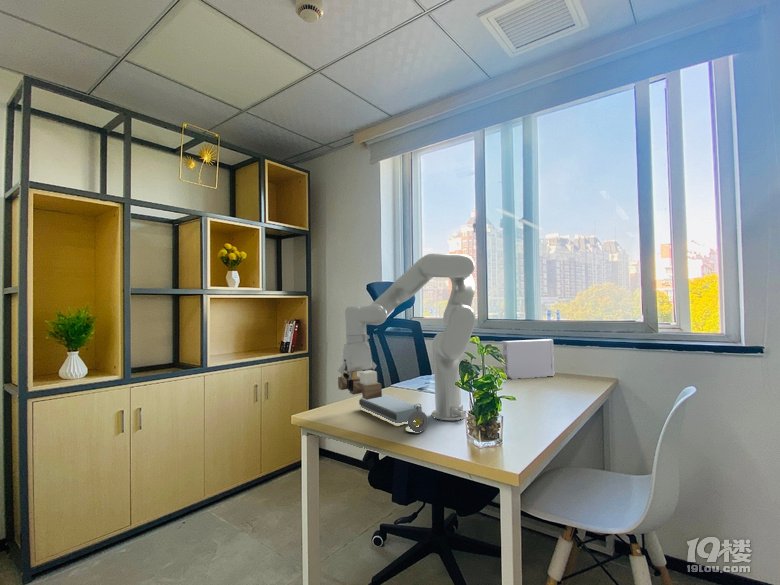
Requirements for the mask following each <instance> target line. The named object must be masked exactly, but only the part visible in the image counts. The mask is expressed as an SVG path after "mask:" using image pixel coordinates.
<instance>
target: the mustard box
mask: <svg viewBox="0 0 780 585" xmlns="http://www.w3.org/2000/svg"><path fill="white" fill-rule="evenodd" d="M344 372H345V373H347V371H345V370H344ZM357 372H358V371H356V372H353V376H352V378H355V377H357V376H358V373H357ZM340 375H341V374H340ZM340 377H342V378H345V377H343V376H342V375H341V376H340Z"/></svg>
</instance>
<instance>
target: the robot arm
mask: <svg viewBox="0 0 780 585" xmlns="http://www.w3.org/2000/svg"><path fill="white" fill-rule="evenodd" d="M475 265H476V264H475V262H474V259H473V258H472V257H471V256H470V255H468V254H464V253H428V254H426V255H424V256H422V257H420V259H418V260H417V261H416V262H414V263H413V265H411V267H409V268H408V269H407V270H406V271H405V272H404V273H403V274H402V275H400V276H399V277H398V278H397V279H396V280H395V281H394V282H393V283H392V284H391V285H390V286H389V287H388V288H387V289H386V290H385V291H384V292H383V293H381V295H379V297H377V298H376V299H375V300H374V301H373V302H372V303H371V304H370V305H349V306H346V307H345V309H344V321H345V322H344V323H345V337H346V338H345V339H346V340H345V341H346V342H345V344H344V345H343V349H342V350H343V351H342V364H341V365H340V367H339V368H338V370H337V372H338V373H339V374H340V375H342V376H343V377H345V379H347V388H348V389H347V391H349V392H350V391H353V380H352V376H353V372H356V371H357V372H362V371H368V370H372V371H375V369H376V368H377V366H378V365H377V364H376V363H375V362H374V361H373V360H372V352H371V346H370V343H369V342H368V339H370V335H369V334H367V325H370V326H371V325H372V326H379V325H382V324H383V323H385V322H386V320H387V318H388V315H389V314H391V313H392V311H394V310H395V309H396V308H397V307H399V306H400V305H401V304H403V303H404V302H407V301H408V300H410V299H411V298H412V297H414V296H415V295H416V294H417V293H418V292H419V291H420V290H421V289H422V288H423V287H424V286H426V285H427V284H428V283H429V282H430V281H431V280H432V279H433V278H448V279H450V282H451V291H450V295H449V298H448V302H447V305H446V307H445V309H444V312H443V317H442V319H443V322H444V324H445V325H446V326H445V328H444V331H439V332H438V333H437V334H436V335H434V337H433V340H432V343H431V345H432V346H431V350H432V356H433V369H434V374H433V375H434V399H435V400H434V401H435V402H434V403H435V409H434V410H433V411H432V412H431V417H432V416H433V417H435V418H437V419H442V420H457V421H461V420H464V419H465V418H466V417H465V412H466V411H467V410H465V409H464V405H462V394H461V393H462V391H461V390H462V389H461V388H459V387H457V386H456V385H455V382H457V381H459V380H460V381H461V374H460V375H459V364H460V359H461V358H462V357H464V355H465V353H466V351H467V349H468V347H469V343H470V340H471V338H472V337H471V336H472V334H473V331H474V328H475V325H476V314H475V311H474V310H473V307H472V303H473V300H474V297H475V296H474V295H475V291H476V290H475V288H476V286H475V281H474V278H473V276H472V274H473V273H474V271H475V267H476V266H475ZM464 352H465V353H464ZM344 370H345V371H347V373H345V372H344ZM433 417H432V418H433ZM464 417H465V418H464ZM435 418H434V419H435ZM437 419H436V420H437ZM460 419H461V420H460ZM442 420H441V421H442Z"/></svg>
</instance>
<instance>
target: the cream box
mask: <svg viewBox="0 0 780 585" xmlns="http://www.w3.org/2000/svg"><path fill="white" fill-rule="evenodd" d="M359 377H360V383H361V384H364V385H371V384H376V383H377V382H378V372H377V371H375V370H374V371H372V370H368V371H363V370H362V371H359Z"/></svg>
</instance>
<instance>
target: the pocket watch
mask: <svg viewBox="0 0 780 585" xmlns="http://www.w3.org/2000/svg"><path fill="white" fill-rule="evenodd" d="M415 405H418V406H420V407H422V404H421V403H415ZM415 405H414V408H415ZM418 406H417V407H416V409H417V411H415V412H413V413H412V414H411V415H410V417H409V419H408V424H407V426H409V427H410V429H412V430H413V431H415V432H420V431H422V430H424V431H425V429H426V427H427V426H428V421H429V420H428V419H429V418H428V416H427V414H426V413H425V412H424V411H423V410H422V411H418V409H419V408H420V407H418ZM414 419H415V421H416V422H413V421H414ZM418 425H419V427H416V426H418ZM420 433H421V432H420Z"/></svg>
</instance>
